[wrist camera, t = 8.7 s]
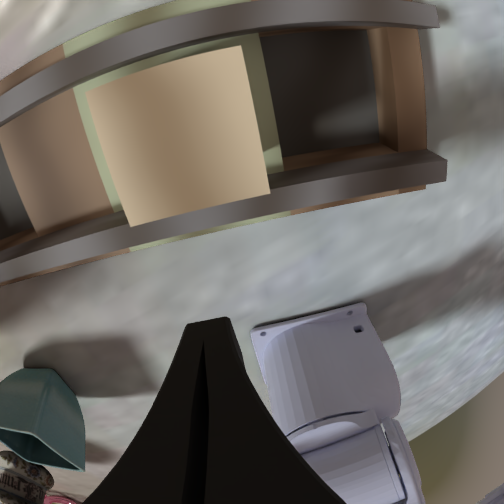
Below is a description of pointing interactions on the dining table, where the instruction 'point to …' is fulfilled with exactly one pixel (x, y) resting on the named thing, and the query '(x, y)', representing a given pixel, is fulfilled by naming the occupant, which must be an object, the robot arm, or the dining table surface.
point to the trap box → (266, 110)
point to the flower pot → (42, 419)
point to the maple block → (181, 136)
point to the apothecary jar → (22, 480)
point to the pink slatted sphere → (55, 498)
